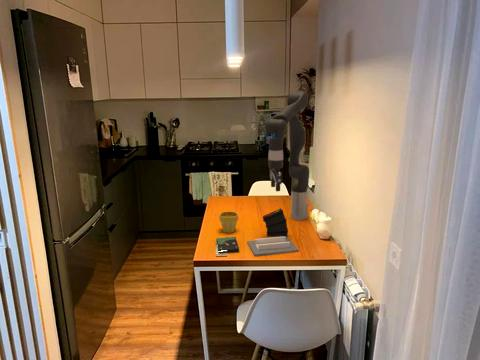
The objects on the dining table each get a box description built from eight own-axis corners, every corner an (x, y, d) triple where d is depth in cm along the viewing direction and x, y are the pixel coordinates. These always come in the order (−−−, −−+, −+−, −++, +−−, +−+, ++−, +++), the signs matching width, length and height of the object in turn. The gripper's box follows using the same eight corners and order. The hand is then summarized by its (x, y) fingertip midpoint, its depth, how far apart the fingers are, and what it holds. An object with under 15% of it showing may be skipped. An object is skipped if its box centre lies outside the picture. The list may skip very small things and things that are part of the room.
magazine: (293, 234, 197) (281, 210, 195) (271, 243, 200) (259, 219, 197) (293, 231, 201) (281, 207, 198) (271, 240, 203) (259, 217, 201)
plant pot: (228, 235, 201) (228, 218, 199) (216, 230, 208) (215, 214, 206) (242, 230, 208) (241, 214, 206) (229, 225, 215) (229, 209, 213)
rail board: (287, 238, 196) (287, 232, 195) (298, 251, 181) (298, 245, 180) (247, 243, 191) (247, 236, 190) (254, 256, 176) (254, 249, 175)
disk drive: (239, 253, 181) (235, 241, 195) (239, 248, 180) (235, 236, 194) (218, 255, 180) (215, 242, 194) (218, 249, 179) (215, 237, 193)
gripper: (287, 160, 184) (286, 192, 188) (278, 155, 198) (278, 185, 202) (272, 161, 183) (272, 193, 187) (265, 156, 196) (264, 186, 200)
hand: (275, 189), depth 194 cm, fingers open, 8 cm apart
